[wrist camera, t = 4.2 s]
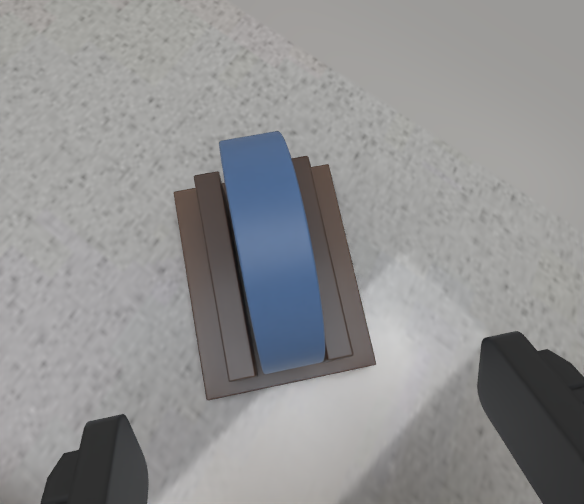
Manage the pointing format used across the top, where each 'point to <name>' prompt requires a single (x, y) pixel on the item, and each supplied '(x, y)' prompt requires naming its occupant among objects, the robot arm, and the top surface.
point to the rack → (232, 297)
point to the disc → (274, 251)
